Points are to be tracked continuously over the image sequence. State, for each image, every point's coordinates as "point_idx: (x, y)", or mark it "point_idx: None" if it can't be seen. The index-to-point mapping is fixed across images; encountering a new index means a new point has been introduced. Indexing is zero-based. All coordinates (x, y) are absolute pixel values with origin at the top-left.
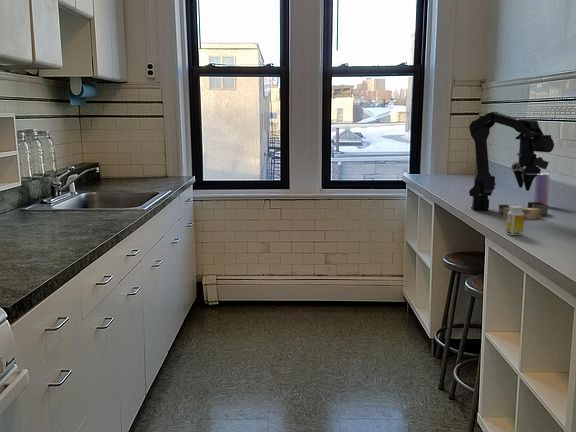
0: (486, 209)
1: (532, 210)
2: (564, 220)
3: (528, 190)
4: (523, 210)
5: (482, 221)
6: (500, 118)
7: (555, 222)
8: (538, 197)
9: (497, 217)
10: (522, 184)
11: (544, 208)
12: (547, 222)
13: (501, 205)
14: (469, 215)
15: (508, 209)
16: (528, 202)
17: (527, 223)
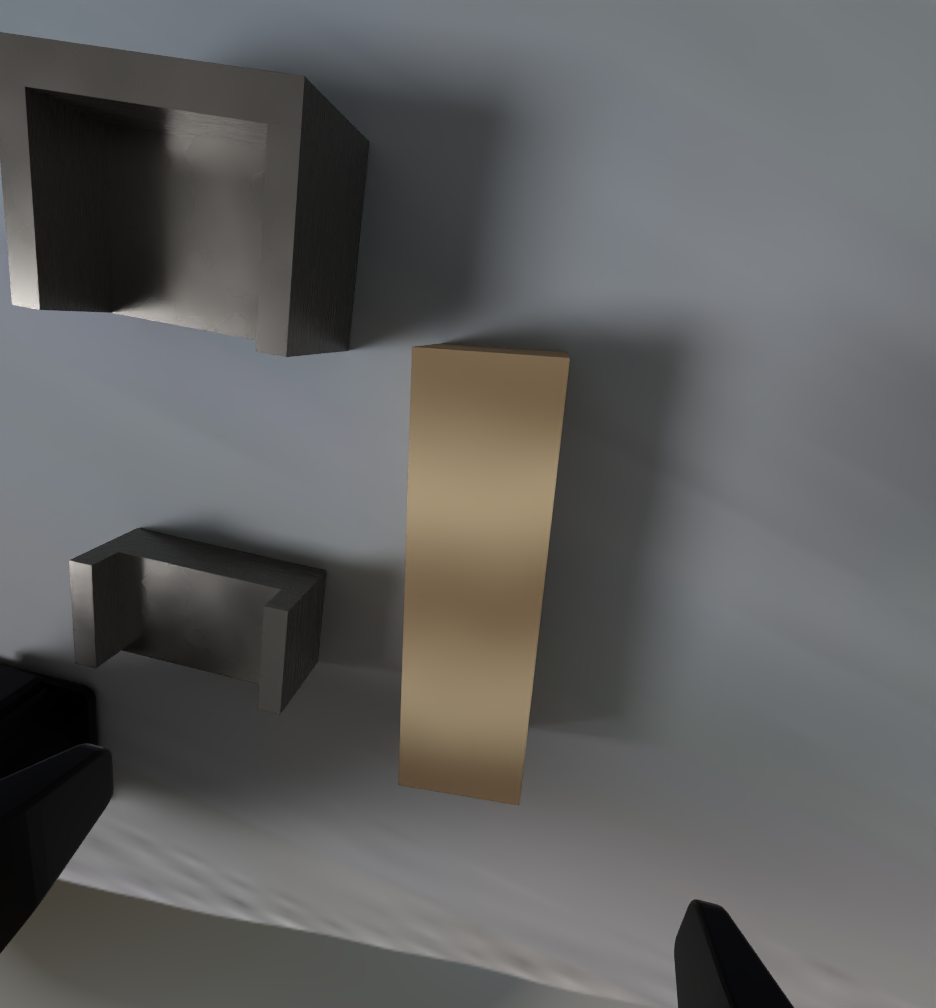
0: (86, 712)
1: (553, 493)
2: (762, 48)
3: (715, 915)
4: (539, 614)
5: (622, 969)
6: None
7: (869, 283)
8: None
9: None
10: (39, 810)
11: (324, 162)
12: (837, 397)
13: (101, 644)
14: (334, 929)
15: (495, 780)
16: (43, 306)
17: (826, 660)
